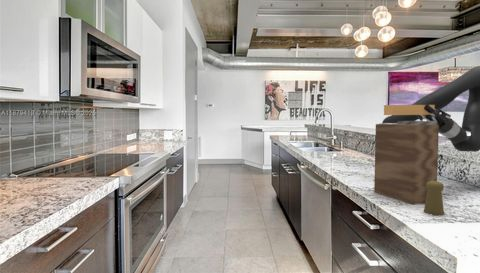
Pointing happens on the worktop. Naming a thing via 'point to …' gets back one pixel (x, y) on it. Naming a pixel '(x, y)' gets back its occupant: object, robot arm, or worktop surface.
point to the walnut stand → (406, 159)
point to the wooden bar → (406, 110)
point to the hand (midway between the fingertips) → (420, 106)
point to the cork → (434, 198)
